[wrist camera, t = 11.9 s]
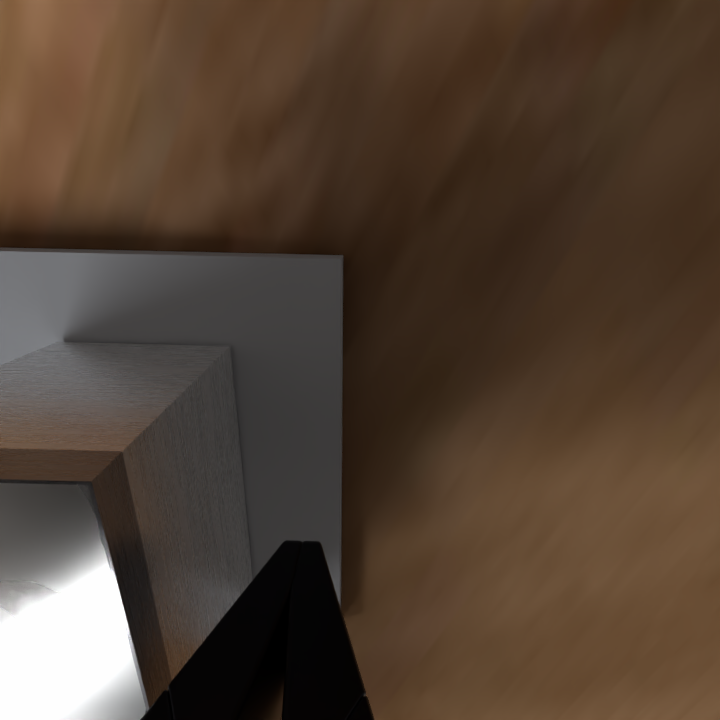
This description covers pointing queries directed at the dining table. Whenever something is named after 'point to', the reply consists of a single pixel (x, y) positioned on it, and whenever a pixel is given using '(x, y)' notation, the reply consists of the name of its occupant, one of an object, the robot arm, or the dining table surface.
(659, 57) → the dining table surface
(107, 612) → the grey square block
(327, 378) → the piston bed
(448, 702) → the dining table surface
